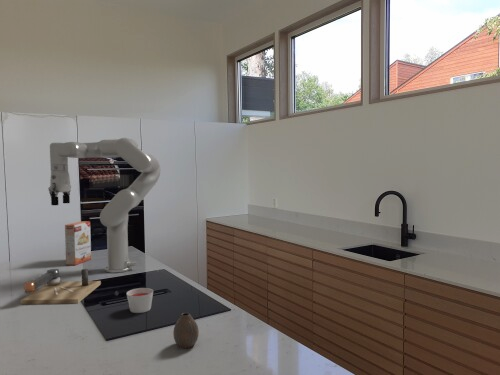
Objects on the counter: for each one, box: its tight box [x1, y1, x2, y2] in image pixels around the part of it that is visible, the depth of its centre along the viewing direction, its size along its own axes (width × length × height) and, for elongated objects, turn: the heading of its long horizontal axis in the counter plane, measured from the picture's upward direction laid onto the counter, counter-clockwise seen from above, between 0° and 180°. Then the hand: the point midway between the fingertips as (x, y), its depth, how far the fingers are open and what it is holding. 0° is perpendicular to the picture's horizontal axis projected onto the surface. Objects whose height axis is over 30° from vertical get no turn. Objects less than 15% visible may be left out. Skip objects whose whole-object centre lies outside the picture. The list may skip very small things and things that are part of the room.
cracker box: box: [64, 220, 92, 266], centre depth 209 cm, size 14×6×21 cm, turn 168°
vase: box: [172, 312, 199, 349], centre depth 110 cm, size 7×7×9 cm
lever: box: [23, 268, 60, 294], centre depth 155 cm, size 22×4×3 cm, turn 1°
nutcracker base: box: [19, 268, 102, 305], centre depth 157 cm, size 21×23×8 cm
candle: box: [126, 287, 154, 314], centre depth 138 cm, size 9×9×6 cm
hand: (60, 204), depth 191 cm, fingers open, 9 cm apart
